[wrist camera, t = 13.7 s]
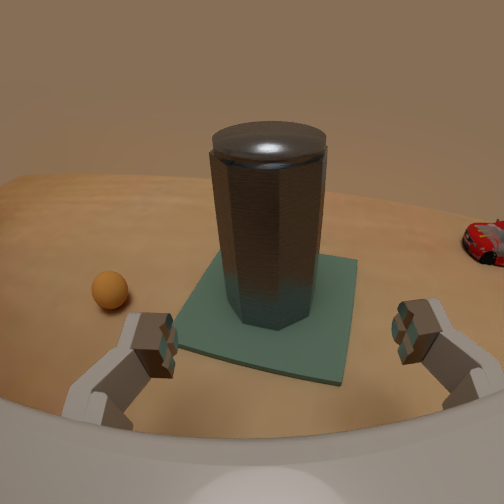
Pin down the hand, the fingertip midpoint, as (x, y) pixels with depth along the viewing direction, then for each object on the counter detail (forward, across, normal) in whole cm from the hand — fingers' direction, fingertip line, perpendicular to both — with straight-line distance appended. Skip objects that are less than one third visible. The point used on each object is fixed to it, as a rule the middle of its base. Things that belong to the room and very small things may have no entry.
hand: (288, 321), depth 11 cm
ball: (+9, +13, +9) cm, 18 cm away
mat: (+9, 0, +9) cm, 13 cm away
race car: (+13, -27, +9) cm, 31 cm away
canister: (+9, 0, +8) cm, 12 cm away
